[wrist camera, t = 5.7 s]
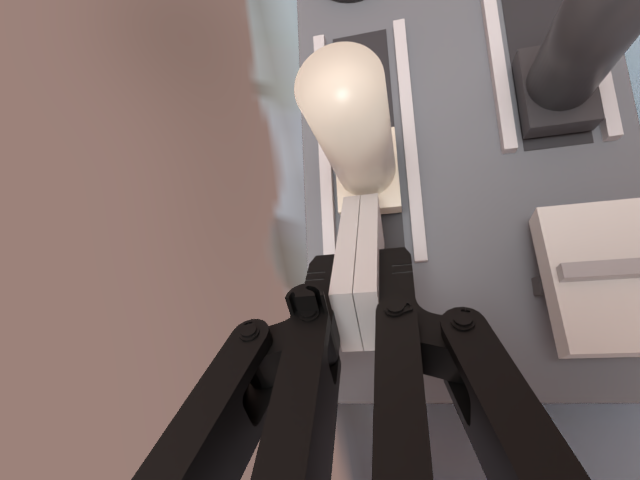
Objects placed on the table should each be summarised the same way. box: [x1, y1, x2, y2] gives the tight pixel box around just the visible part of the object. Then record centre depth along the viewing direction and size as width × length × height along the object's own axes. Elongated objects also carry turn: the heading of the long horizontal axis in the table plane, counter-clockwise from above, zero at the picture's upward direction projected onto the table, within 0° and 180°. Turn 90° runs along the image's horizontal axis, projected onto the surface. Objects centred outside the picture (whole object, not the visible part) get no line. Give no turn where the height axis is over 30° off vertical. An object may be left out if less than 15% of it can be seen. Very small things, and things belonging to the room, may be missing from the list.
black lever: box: [512, 0, 640, 139], centre depth 15 cm, size 4×3×9 cm
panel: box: [297, 0, 640, 404], centre depth 21 cm, size 28×16×5 cm, turn 3°
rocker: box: [529, 198, 640, 359], centre depth 16 cm, size 6×4×2 cm, turn 3°
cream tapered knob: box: [294, 41, 402, 216], centre depth 17 cm, size 4×3×9 cm
